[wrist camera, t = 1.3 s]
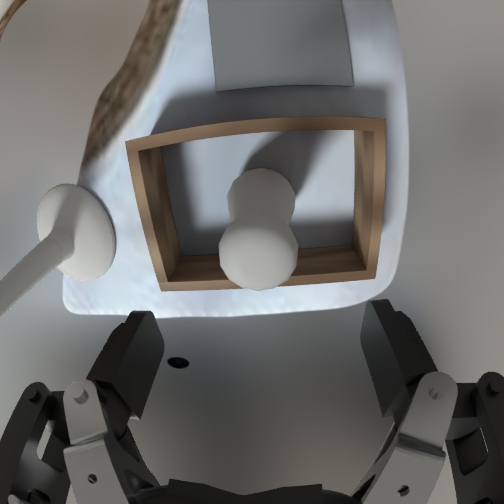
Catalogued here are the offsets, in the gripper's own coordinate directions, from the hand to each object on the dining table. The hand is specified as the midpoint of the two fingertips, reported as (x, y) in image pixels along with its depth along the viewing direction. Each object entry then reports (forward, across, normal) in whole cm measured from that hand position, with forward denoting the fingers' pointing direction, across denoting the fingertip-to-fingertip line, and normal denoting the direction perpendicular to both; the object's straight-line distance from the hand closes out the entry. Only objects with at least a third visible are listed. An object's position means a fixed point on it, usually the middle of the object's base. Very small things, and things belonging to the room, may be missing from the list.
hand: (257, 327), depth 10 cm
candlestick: (+18, +23, +2) cm, 29 cm away
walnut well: (+18, 0, 0) cm, 18 cm away
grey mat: (+17, -3, -16) cm, 24 cm away
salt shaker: (+18, 0, 0) cm, 18 cm away
